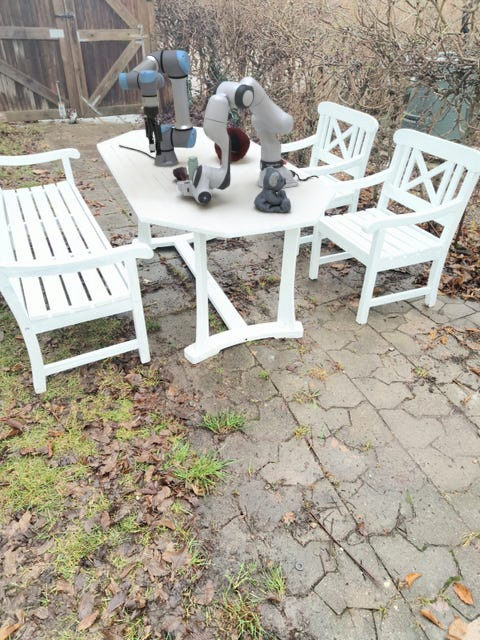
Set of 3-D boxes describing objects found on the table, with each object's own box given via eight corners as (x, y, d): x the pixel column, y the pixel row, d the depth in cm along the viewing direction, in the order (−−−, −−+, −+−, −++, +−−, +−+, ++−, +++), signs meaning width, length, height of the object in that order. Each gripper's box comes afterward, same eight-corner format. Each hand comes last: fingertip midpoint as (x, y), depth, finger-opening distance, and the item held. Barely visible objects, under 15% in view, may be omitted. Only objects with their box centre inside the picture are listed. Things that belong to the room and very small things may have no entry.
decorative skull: (211, 133, 303) (210, 130, 280) (245, 125, 303) (247, 122, 279) (218, 165, 310) (218, 165, 287) (251, 158, 309) (254, 157, 286)
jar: (192, 189, 251) (190, 155, 240) (201, 190, 249) (199, 156, 239) (188, 192, 247) (185, 158, 236) (197, 194, 245) (195, 159, 235)
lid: (153, 147, 239) (153, 143, 238) (163, 148, 237) (163, 144, 236) (146, 149, 235) (146, 145, 234) (156, 151, 232) (156, 146, 231)
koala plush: (292, 213, 220) (294, 173, 209) (255, 214, 219) (256, 174, 208) (286, 201, 234) (288, 162, 223) (252, 202, 233) (252, 164, 222)
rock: (186, 179, 270) (170, 181, 266) (185, 164, 266) (169, 166, 262) (194, 181, 261) (178, 183, 256) (192, 166, 257) (176, 168, 253)
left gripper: (135, 104, 229) (141, 151, 242) (153, 109, 216) (158, 158, 229) (148, 102, 232) (153, 149, 245) (166, 107, 220) (171, 156, 233)
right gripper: (217, 180, 235) (212, 172, 246) (179, 184, 230) (175, 176, 241) (218, 192, 238) (212, 184, 249) (180, 196, 234) (176, 187, 245)
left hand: (155, 153), depth 237 cm, fingers closed on lid, 6 cm apart
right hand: (193, 180), depth 245 cm, fingers closed on jar, 5 cm apart
